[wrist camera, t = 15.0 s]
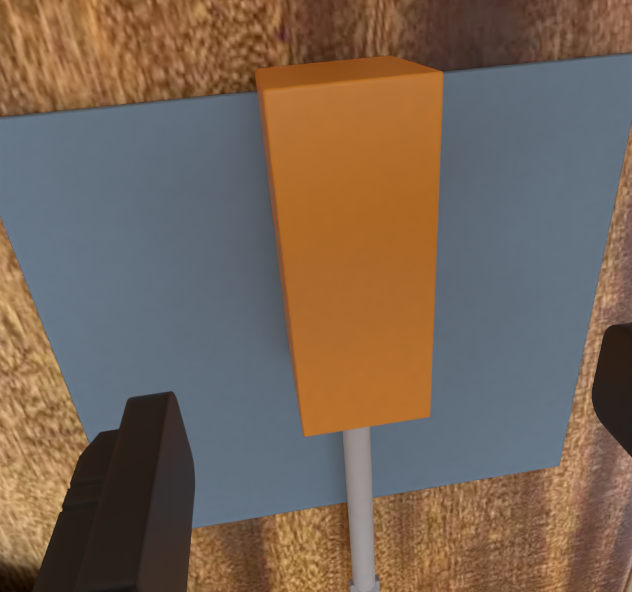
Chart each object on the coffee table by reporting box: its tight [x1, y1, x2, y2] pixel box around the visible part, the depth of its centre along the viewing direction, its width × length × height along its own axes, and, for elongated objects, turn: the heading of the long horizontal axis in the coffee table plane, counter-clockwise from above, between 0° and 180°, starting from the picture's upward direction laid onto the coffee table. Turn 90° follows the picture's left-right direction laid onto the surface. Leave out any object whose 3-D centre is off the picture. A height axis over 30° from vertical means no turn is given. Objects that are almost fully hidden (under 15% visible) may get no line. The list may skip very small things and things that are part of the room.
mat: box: [0, 52, 632, 529], centre depth 18 cm, size 18×16×1 cm
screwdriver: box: [255, 55, 444, 592], centre depth 17 cm, size 4×20×4 cm, turn 4°
